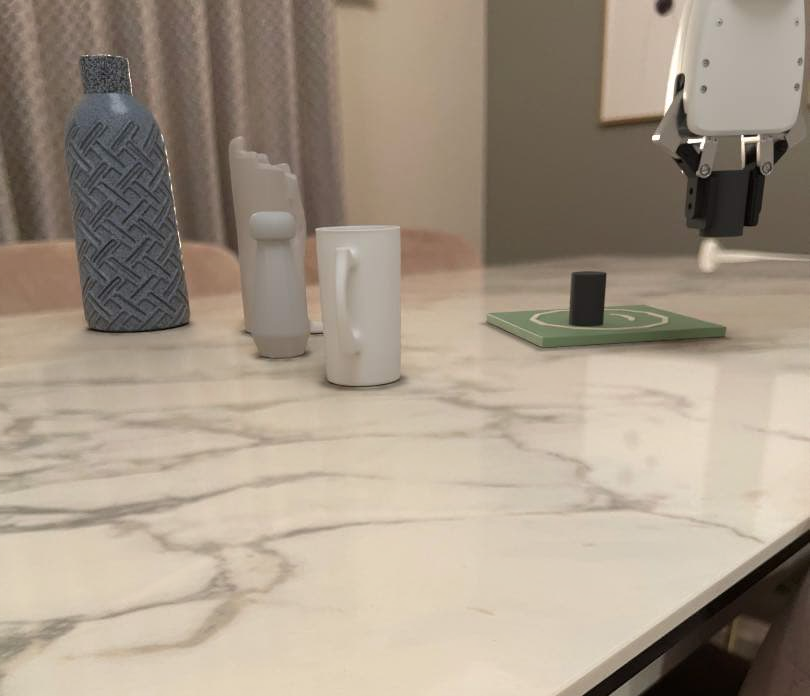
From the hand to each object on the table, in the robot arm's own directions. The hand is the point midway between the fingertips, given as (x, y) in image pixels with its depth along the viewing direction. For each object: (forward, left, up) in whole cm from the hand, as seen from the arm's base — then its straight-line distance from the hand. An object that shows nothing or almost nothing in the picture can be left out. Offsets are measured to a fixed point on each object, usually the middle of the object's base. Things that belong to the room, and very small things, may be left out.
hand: (721, 224), depth 73 cm
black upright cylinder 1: (+5, -15, -10) cm, 19 cm away
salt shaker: (+37, -14, -12) cm, 42 cm away
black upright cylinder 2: (0, 0, -1) cm, 1 cm away
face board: (+2, -18, -11) cm, 21 cm away
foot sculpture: (+33, -29, -12) cm, 46 cm away
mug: (+32, +1, -12) cm, 34 cm away
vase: (+52, -39, -12) cm, 66 cm away
